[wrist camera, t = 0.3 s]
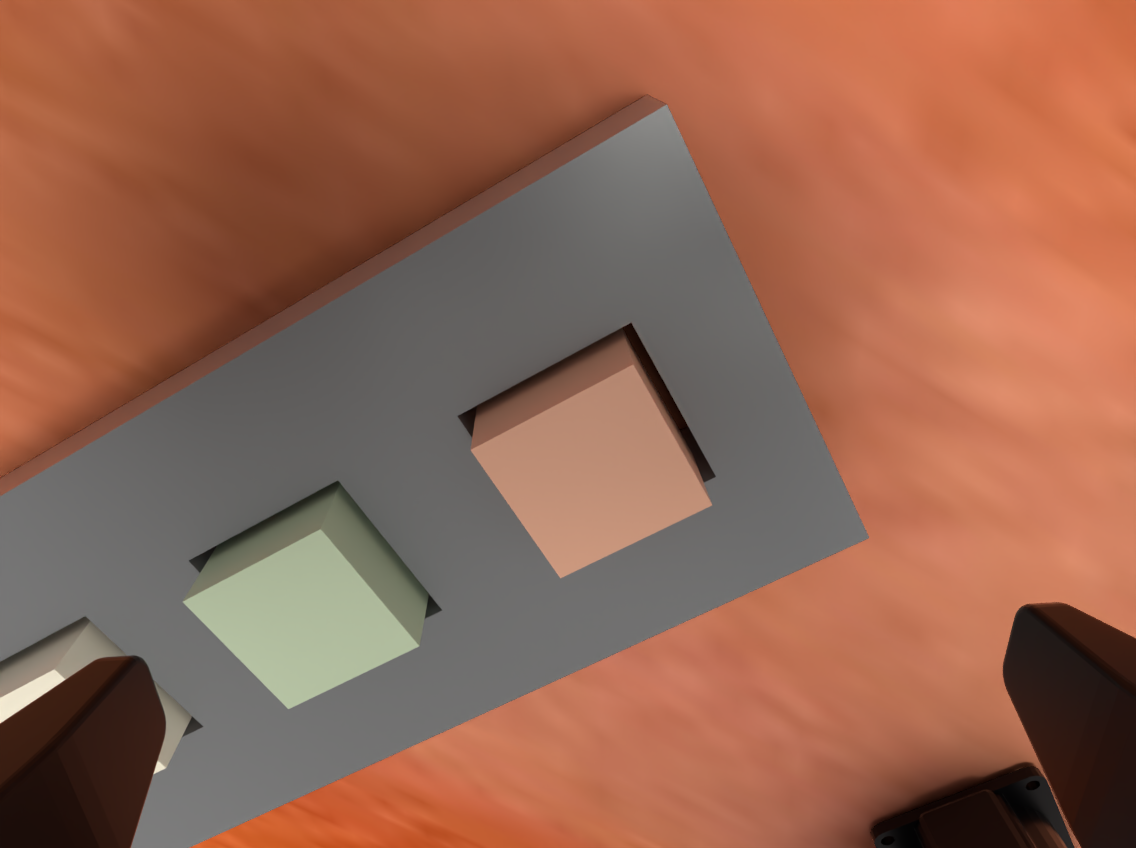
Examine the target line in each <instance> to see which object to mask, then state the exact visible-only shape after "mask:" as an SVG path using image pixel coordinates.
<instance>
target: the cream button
mask: <svg viewBox="0 0 1136 848" xmlns="http://www.w3.org/2000/svg"><path fill="white" fill-rule="evenodd" d="M113 656H127V655H126V654H125V653H124V652H123V651H122V650H121V649H120V648H119V647H118V646H117V645H116V644H115V643H114V642H112V641H111V640H110V639H109V638H108V637H107V636H106V635H105V634H104V633H103V632H102V631H101V630H100V629H99V628H97V627H96V626H95V625H94V624H93V623H92V622H91V621H90V620H89V619H88V618H87V617H86V616H85V617H83V618H81V619H79V620H77V621H75V622H73V623H72V624H70V625H68V626H66V627H64V628H62V629H60V630H59V631H57V632H55V633H53V634H51V635H49V636H47V637H46V638H44V639H42V640H40V641H38V642H36V643H34V644H33V645H31V646H29V647H27V648H25V649H23V650H21V651H20V652H18V653H16V654H14V655H12V656H10V657H8V658H6V659H5V660H3V661H1V662H0V723H1V722H3V721H4V720H6V719H7V718H9V717H10V716H12V715H13V714H15V713H16V712H18V711H19V710H21V709H22V708H24V707H25V706H27V705H28V704H30V703H31V702H33V701H34V700H36V699H37V698H39V697H40V696H42V695H43V694H45V693H46V692H48V691H49V690H51V689H52V688H54V687H55V686H57V685H58V684H60V683H61V682H63V681H64V680H66V679H67V678H69V677H70V676H72V675H73V674H75V673H76V672H78V671H79V670H81V669H82V668H84V667H85V666H86V665H88V664H89V663H91V662H93V661H94V660H96V659H99V658H103V657H113ZM154 683H155V686H156V689H157V692H158V695H159V697H160V700H161V703H162V706H163V709H164V712H165V716H166V732H165V738H164V742H163V745H162V748H161V752H160V755H159V758H158V761H157V765H156V768H155V771H154V774H155V773H157V772H159V771H161V770H163V769H165V768H167V766H168V764H169V762H170V760H171V758H172V756H173V754H174V752H175V750H176V748H177V746H178V744H179V742H180V740H181V738H182V736H183V734H184V732H185V730H186V728H187V726H188V724H189V722H190V720H191V718H192V715H190V714H189V713H188V712H187V711H186V710H185V709H184V708H183V707H182V706H181V705H180V704H179V703H178V702H177V701H176V700H174V699H173V698H172V697H171V696H170V695H169V694H168V693H167V692H166V691H165V690H164V689H163V688H162V687H161V686H159V685H158V684H157V683H156V682H155V681H154Z"/></svg>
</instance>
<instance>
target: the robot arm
mask: <svg viewBox="0 0 1136 848" xmlns="http://www.w3.org/2000/svg"><path fill="white" fill-rule="evenodd" d="M1003 678H1004V683H1005V686H1006V689H1007V692H1008V694H1009V696H1010V698H1011V701H1012V703H1013V705H1014V707H1015V709H1016V711H1017V714H1018V716H1019V718H1020V720H1021V722H1022V725H1023V727H1024V729H1025V731H1026V733H1027V735H1028V738H1029V740H1030V742H1031V744H1032V746H1033V749H1034V751H1035V753H1036V755H1037V757H1038V760H1039V762H1040V764H1041V766H1042V768H1043V770H1044V773H1045V775H1046V777H1047V779H1048V781H1049V784H1050V786H1051V788H1052V790H1053V792H1054V794H1055V797H1056V799H1057V801H1058V803H1059V805H1060V807H1061V809H1062V811H1063V814H1064V816H1065V818H1066V820H1067V822H1068V824H1069V826H1070V828H1071V830H1072V831H1073V833H1074V835H1075V837H1076V839H1077V840H1078V842H1079V844H1080V846H1081V848H1136V638H1134V637H1132V636H1130V635H1128V634H1126V633H1124V632H1122V631H1120V630H1118V629H1116V628H1114V627H1112V626H1110V625H1108V624H1106V623H1104V622H1102V621H1100V620H1098V619H1096V618H1094V617H1092V616H1090V615H1088V614H1086V613H1084V612H1082V611H1080V610H1078V609H1076V608H1074V607H1072V606H1070V605H1068V604H1065V603H1059V602H1053V603H1036V604H1026V605H1024V606H1022V607H1021V608H1020V609H1019V610H1018V611H1017V612H1016V615H1015V618H1014V622H1013V626H1012V630H1011V634H1010V638H1009V642H1008V646H1007V650H1006V654H1005V658H1004V662H1003ZM165 732H166V716H165V712H164V709H163V706H162V703H161V700H160V697H159V695H158V692H157V689H156V686H155V683H154V680H153V677H152V675H151V672H150V669H149V666H148V664H147V662H146V661H145V660H144V659H143V658H141V657H139V656H135V655H130V656H113V657H103V658H99V659H96V660H94V661H93V662H91V663H89V664H88V665H86V666H85V667H84V668H82V669H81V670H79V671H78V672H76V673H75V674H73V675H72V676H70V677H69V678H67V679H66V680H64V681H63V682H61V683H60V684H58V685H57V686H55V687H54V688H52V689H51V690H49V691H48V692H46V693H45V694H43V695H42V696H40V697H39V698H37V699H36V700H34V701H33V702H31V703H30V704H28V705H27V706H25V707H24V708H22V709H21V710H19V711H18V712H16V713H15V714H13V715H12V716H10V717H9V718H7V719H6V720H4V721H3V722H1V723H0V848H131V845H132V842H133V839H134V836H135V833H136V829H137V826H138V823H139V820H140V816H141V813H142V810H143V807H144V803H145V800H146V797H147V794H148V790H149V787H150V784H151V781H152V778H153V774H154V771H155V768H156V765H157V761H158V758H159V755H160V752H161V748H162V745H163V742H164V738H165ZM870 834H871V837H872V839H873V842H874V844H875V846H876V848H1074V846H1073V843H1072V841H1071V838H1070V836H1069V834H1068V831H1067V829H1066V826H1065V824H1064V821H1063V819H1062V817H1061V814H1060V812H1059V809H1058V807H1057V805H1056V802H1055V800H1054V797H1053V795H1052V792H1051V790H1050V788H1049V785H1048V783H1047V780H1046V779H1045V777H1044V776H1043V775H1042V773H1041V772H1040V770H1039V769H1038V768H1036V767H1025V768H1022V769H1019V770H1016V771H1014V772H1011V773H1009V774H1006V775H1003V776H1001V777H998V778H996V779H993V780H990V781H988V782H985V783H983V784H980V785H977V786H975V787H972V788H970V789H967V790H965V791H962V792H959V793H957V794H954V795H952V796H949V797H946V798H944V799H941V800H939V801H936V802H933V803H931V804H928V805H926V806H923V807H920V808H918V809H915V810H913V811H910V812H908V813H905V814H902V815H900V816H897V817H895V818H892V819H889V820H887V821H884V822H882V823H879V824H877V825H875V826H874V827H873V828H872V829H871V832H870Z"/></svg>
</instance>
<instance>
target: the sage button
mask: <svg viewBox="0 0 1136 848" xmlns="http://www.w3.org/2000/svg"><path fill="white" fill-rule="evenodd" d="M428 597H429V593H428V592H427V591H426V589H425V588H424V587H423V586H422V584H421V583H420V582H419V581H418V579H417V578H416V577H415V576H414V574H413V573H412V572H411V571H410V569H409V568H408V567H407V566H406V564H405V563H404V562H403V561H402V559H401V558H400V557H399V556H398V554H397V553H396V552H395V551H394V549H393V548H392V547H391V546H390V544H389V543H388V542H387V541H386V539H385V538H384V537H383V536H382V534H381V533H380V532H379V531H378V530H377V528H376V527H375V526H374V525H373V523H372V522H371V521H370V520H369V518H368V517H367V516H366V515H365V513H364V512H363V511H362V510H361V508H360V507H359V506H358V505H357V503H356V502H355V501H354V500H353V498H352V497H351V496H350V495H349V493H348V492H347V491H346V490H345V488H344V487H343V486H342V485H341V483H340V482H339V481H336V482H334V483H332V484H330V485H328V486H326V487H325V488H323V489H321V490H319V491H317V492H315V493H313V494H312V495H310V496H308V497H306V498H304V499H302V500H300V501H299V502H297V503H295V504H293V505H291V506H289V507H287V508H286V509H284V510H282V511H280V512H278V513H276V514H274V515H272V516H271V517H269V518H267V519H265V520H263V521H261V522H259V523H258V524H256V525H254V526H252V527H250V528H248V529H246V530H245V531H243V532H241V533H239V534H237V535H235V536H233V537H232V538H230V539H228V540H226V541H224V542H222V543H220V544H219V545H217V547H216V548H215V550H214V551H213V553H212V555H211V556H210V558H209V559H208V561H207V563H206V564H205V566H204V568H203V569H202V571H201V572H200V574H199V576H198V577H197V579H196V581H195V582H194V584H193V585H192V587H191V589H190V590H189V592H188V594H187V595H186V597H185V598H184V600H183V603H184V604H185V605H186V606H187V607H188V608H189V609H190V610H191V611H192V612H193V613H194V614H195V615H196V616H197V617H198V618H199V619H200V620H201V621H202V622H203V623H204V624H205V625H206V626H207V627H208V628H209V629H210V630H211V631H212V632H213V633H214V634H215V635H216V636H217V637H218V638H219V639H220V640H221V641H222V642H223V643H224V645H225V646H226V647H227V648H228V649H229V650H230V651H231V652H232V653H233V654H234V655H235V656H236V657H237V658H238V659H239V660H240V661H241V662H242V663H243V664H244V665H245V666H246V667H247V668H248V669H249V670H250V671H251V672H252V673H253V674H254V675H255V676H256V677H257V678H258V679H259V680H260V681H261V682H262V683H263V684H264V685H265V686H266V687H267V688H268V689H269V690H270V691H271V692H272V693H273V694H274V695H275V696H276V697H277V698H278V699H279V700H280V701H281V702H282V703H283V704H284V705H285V706H286V707H287V708H288V709H290V708H292V707H294V706H296V705H298V704H300V703H303V702H305V701H307V700H309V699H311V698H313V697H315V696H317V695H319V694H321V693H323V692H325V691H327V690H330V689H332V688H334V687H336V686H338V685H340V684H342V683H344V682H346V681H348V680H350V679H352V678H354V677H357V676H359V675H361V674H363V673H365V672H367V671H369V670H371V669H373V668H375V667H377V666H379V665H382V664H384V663H386V662H388V661H390V660H392V659H394V658H396V657H398V656H400V655H402V654H404V653H406V652H409V651H411V650H413V649H415V648H417V647H419V646H420V641H421V635H422V630H423V624H424V619H425V613H426V608H427V602H428Z"/></svg>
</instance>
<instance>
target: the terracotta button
mask: <svg viewBox="0 0 1136 848" xmlns="http://www.w3.org/2000/svg"><path fill="white" fill-rule="evenodd" d="M471 452H472V453H473V454H474V456H475V457H476V459H477V460H478V462H479V463H480V464H481V466H482V467H483V469H484V470H485V472H486V473H487V474H488V476H489V477H490V479H491V480H492V481H493V483H494V484H495V486H496V487H497V489H498V490H499V491H500V493H501V494H502V496H503V497H504V499H505V500H506V501H507V503H508V504H509V506H510V507H511V509H512V510H513V511H514V513H515V514H516V516H517V517H518V519H519V520H520V521H521V523H522V524H523V526H524V527H525V529H526V530H527V531H528V533H529V534H530V536H531V537H532V539H533V540H534V541H535V543H536V544H537V546H538V547H539V549H540V550H541V551H542V553H543V554H544V556H545V557H546V559H547V560H548V561H549V563H550V564H551V566H552V567H553V569H554V570H555V571H556V573H557V574H558V576H559V577H560V578H562V577H564V576H566V575H569V574H571V573H573V572H575V571H577V570H579V569H581V568H583V567H585V566H587V565H589V564H591V563H593V562H596V561H598V560H600V559H602V558H604V557H606V556H608V555H610V554H612V553H614V552H616V551H618V550H620V549H623V548H625V547H627V546H629V545H631V544H633V543H635V542H637V541H639V540H641V539H643V538H645V537H647V536H650V535H652V534H654V533H656V532H658V531H660V530H662V529H664V528H666V527H668V526H670V525H672V524H674V523H677V522H679V521H681V520H683V519H685V518H687V517H689V516H691V515H693V514H695V513H697V512H699V511H701V510H704V509H706V508H708V507H710V506H712V503H711V500H710V498H709V495H708V492H707V490H706V487H705V485H704V482H703V480H702V477H701V474H700V472H699V469H698V467H697V464H696V461H695V459H694V456H693V454H692V452H691V450H690V448H689V447H688V445H687V443H686V441H685V439H684V438H683V436H682V434H681V432H680V430H679V429H678V427H677V425H676V423H675V421H674V420H673V418H672V416H671V414H670V412H669V411H668V409H667V407H666V405H665V403H664V402H663V400H662V398H661V396H660V394H659V393H658V391H657V389H656V387H655V386H654V384H653V382H652V380H651V378H650V377H649V375H648V373H647V371H646V369H645V368H644V366H643V364H642V362H641V360H640V359H639V357H638V355H637V353H636V351H635V350H634V348H633V346H632V344H631V342H630V341H629V339H628V337H627V335H626V333H625V332H624V330H623V328H620V329H618V330H617V331H615V332H613V333H611V334H609V335H607V336H605V337H604V338H602V339H600V340H598V341H596V342H594V343H592V344H591V345H589V346H587V347H585V348H583V349H581V350H579V351H578V352H576V353H574V354H572V355H570V356H568V357H566V358H565V359H563V360H561V361H559V362H557V363H555V364H553V365H552V366H550V367H548V368H546V369H544V370H542V371H540V372H538V373H537V374H535V375H533V376H531V377H529V378H527V379H525V380H524V381H522V382H520V383H518V384H516V385H514V386H512V387H511V388H509V389H507V390H505V391H503V392H501V393H499V394H498V395H496V396H494V397H492V398H490V399H488V400H486V401H485V402H483V403H481V404H479V405H477V409H476V416H475V423H474V430H473V436H472V443H471Z"/></svg>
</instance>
